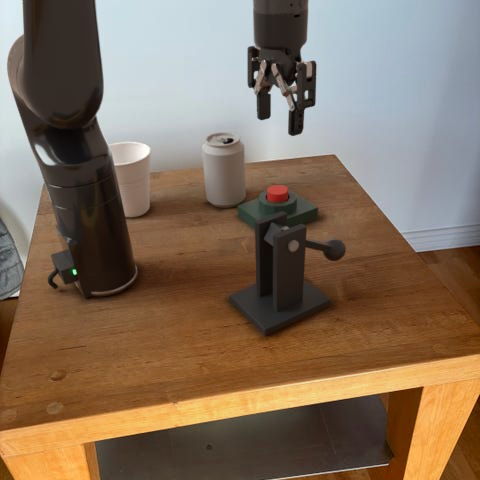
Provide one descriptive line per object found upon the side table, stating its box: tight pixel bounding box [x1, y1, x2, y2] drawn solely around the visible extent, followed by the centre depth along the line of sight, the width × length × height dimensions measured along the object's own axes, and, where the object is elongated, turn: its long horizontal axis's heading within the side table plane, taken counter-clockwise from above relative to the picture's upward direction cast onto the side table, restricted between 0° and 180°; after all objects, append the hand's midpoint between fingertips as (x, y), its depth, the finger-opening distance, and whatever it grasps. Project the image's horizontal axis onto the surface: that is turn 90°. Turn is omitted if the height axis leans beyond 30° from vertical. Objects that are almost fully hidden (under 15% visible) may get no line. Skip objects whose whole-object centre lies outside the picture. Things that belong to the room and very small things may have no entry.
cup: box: [109, 141, 152, 218], centre depth 89 cm, size 10×10×11 cm
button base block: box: [237, 188, 319, 230], centre depth 88 cm, size 11×9×4 cm
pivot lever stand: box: [228, 211, 331, 337], centre depth 66 cm, size 11×9×13 cm
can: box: [201, 131, 247, 209], centre depth 91 cm, size 8×8×12 cm
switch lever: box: [264, 222, 347, 262], centre depth 67 cm, size 14×3×3 cm, turn 122°
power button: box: [267, 184, 289, 203], centre depth 86 cm, size 4×4×2 cm
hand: (279, 126), depth 78 cm, fingers open, 8 cm apart
